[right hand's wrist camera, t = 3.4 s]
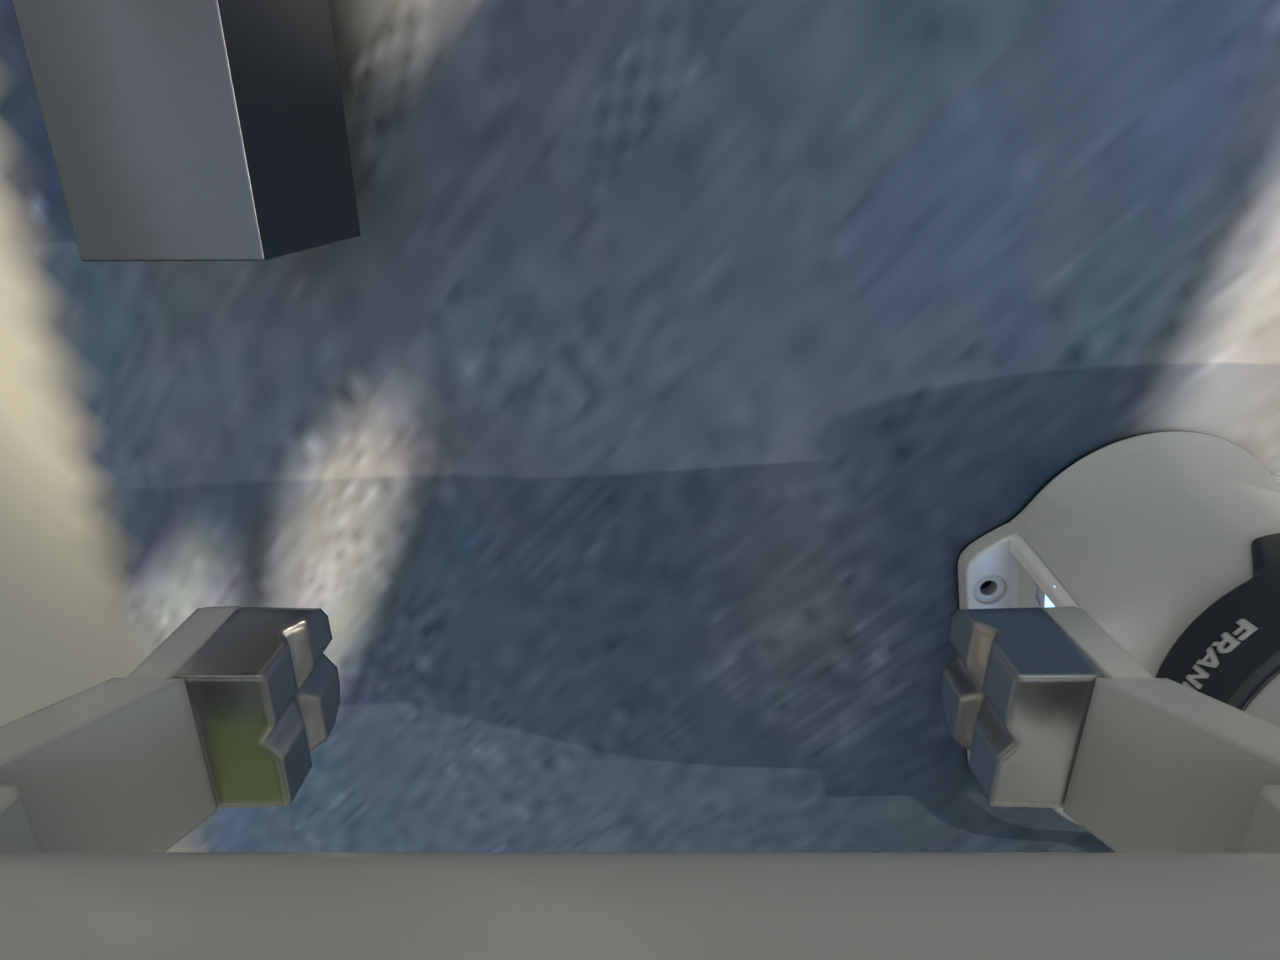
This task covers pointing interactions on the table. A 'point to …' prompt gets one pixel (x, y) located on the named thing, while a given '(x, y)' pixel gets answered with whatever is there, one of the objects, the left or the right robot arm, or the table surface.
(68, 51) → the bar
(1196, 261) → the table surface
